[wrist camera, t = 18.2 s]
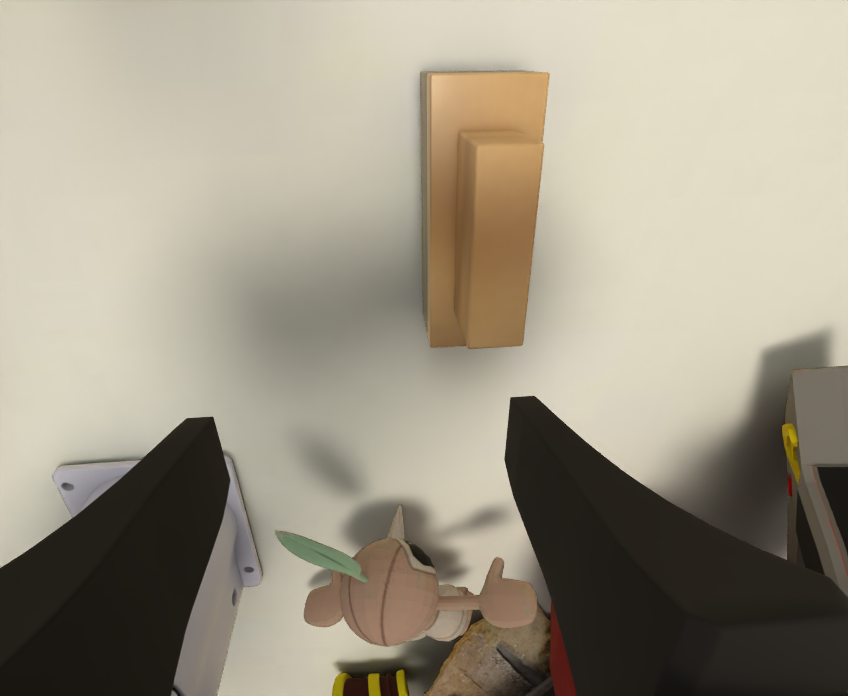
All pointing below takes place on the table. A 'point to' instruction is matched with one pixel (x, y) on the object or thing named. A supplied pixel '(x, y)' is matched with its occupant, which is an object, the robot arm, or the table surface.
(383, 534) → the table surface
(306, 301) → the table surface
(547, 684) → the hard drive
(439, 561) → the table surface
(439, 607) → the toy
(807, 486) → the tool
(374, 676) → the opera glasses
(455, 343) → the brush
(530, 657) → the driftwood
